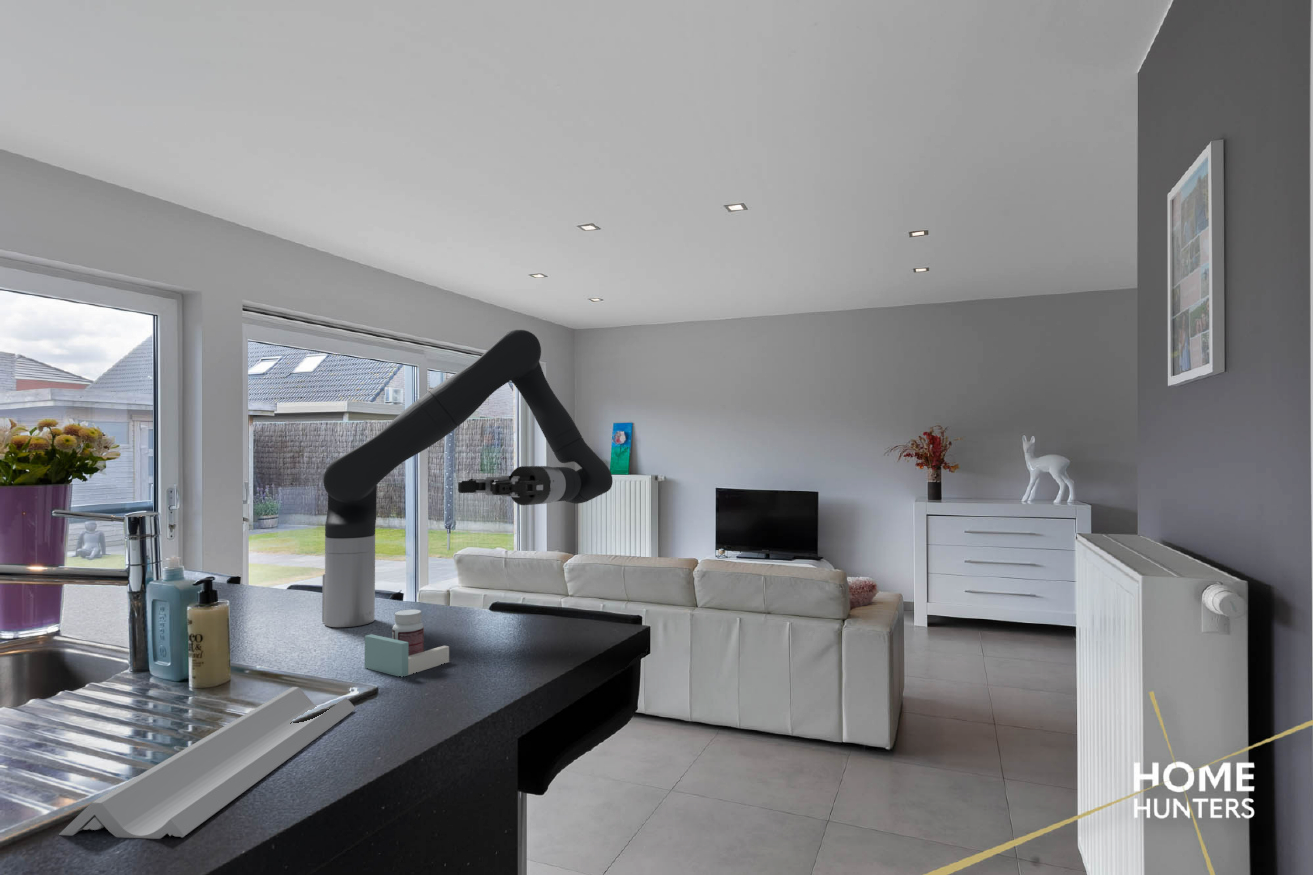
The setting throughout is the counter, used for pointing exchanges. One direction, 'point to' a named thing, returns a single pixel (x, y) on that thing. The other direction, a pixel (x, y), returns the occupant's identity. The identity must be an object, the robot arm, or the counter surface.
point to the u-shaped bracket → (400, 656)
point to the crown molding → (209, 771)
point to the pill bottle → (409, 630)
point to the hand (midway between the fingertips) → (476, 487)
